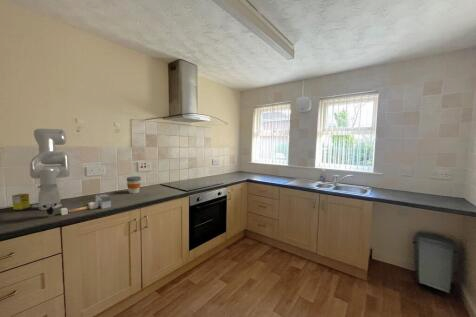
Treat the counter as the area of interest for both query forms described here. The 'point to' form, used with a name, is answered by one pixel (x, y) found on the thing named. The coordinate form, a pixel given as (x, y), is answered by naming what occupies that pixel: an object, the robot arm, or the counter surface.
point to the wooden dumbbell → (91, 206)
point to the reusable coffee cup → (133, 184)
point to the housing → (103, 200)
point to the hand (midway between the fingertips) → (50, 214)
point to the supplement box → (20, 201)
